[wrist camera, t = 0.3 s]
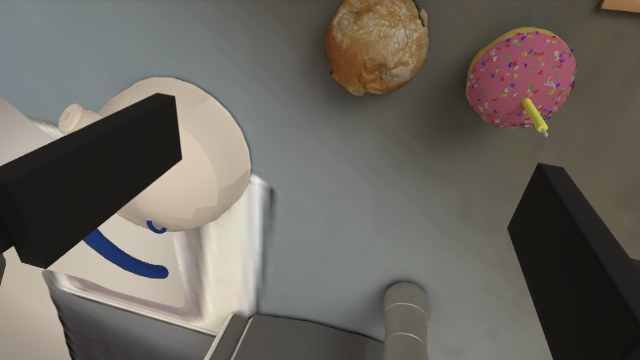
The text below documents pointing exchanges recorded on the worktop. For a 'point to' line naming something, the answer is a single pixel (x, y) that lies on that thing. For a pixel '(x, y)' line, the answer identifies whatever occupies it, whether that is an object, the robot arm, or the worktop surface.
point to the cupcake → (521, 78)
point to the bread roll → (376, 44)
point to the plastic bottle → (405, 322)
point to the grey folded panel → (288, 341)
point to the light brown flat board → (621, 5)
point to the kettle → (177, 168)
